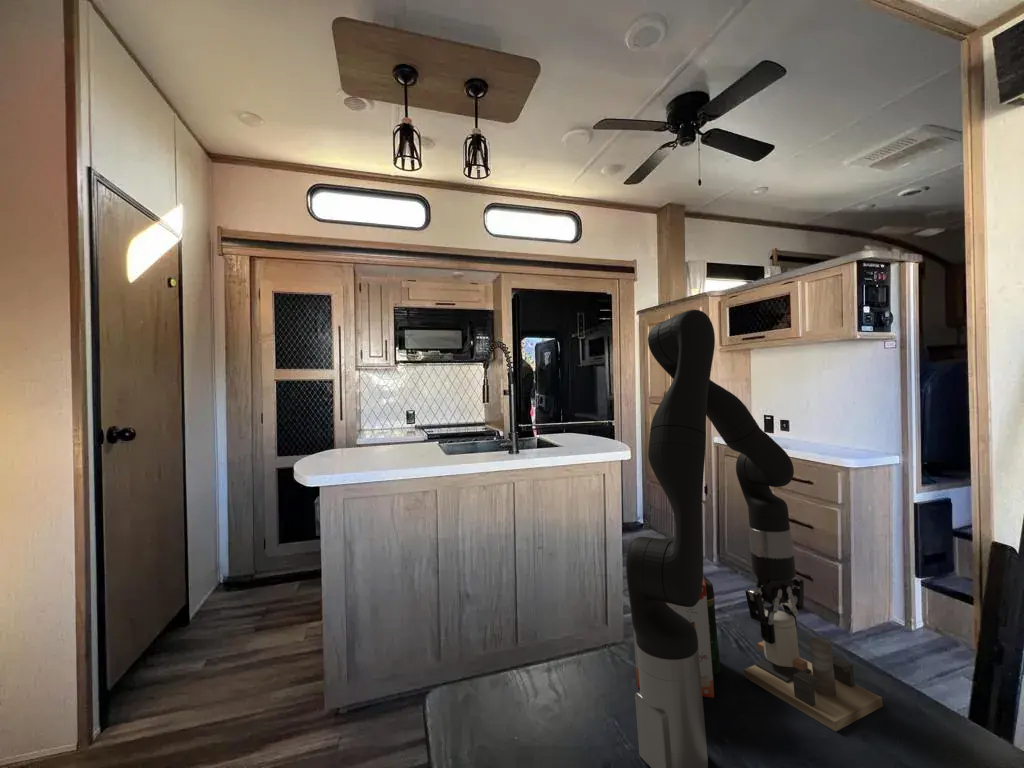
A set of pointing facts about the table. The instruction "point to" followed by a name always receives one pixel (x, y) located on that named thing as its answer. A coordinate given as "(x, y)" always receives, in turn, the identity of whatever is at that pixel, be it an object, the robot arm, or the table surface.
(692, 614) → the cracker box
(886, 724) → the table surface
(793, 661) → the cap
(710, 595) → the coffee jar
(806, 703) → the bulb mounting plate
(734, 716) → the table surface
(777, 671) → the mat
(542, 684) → the table surface
